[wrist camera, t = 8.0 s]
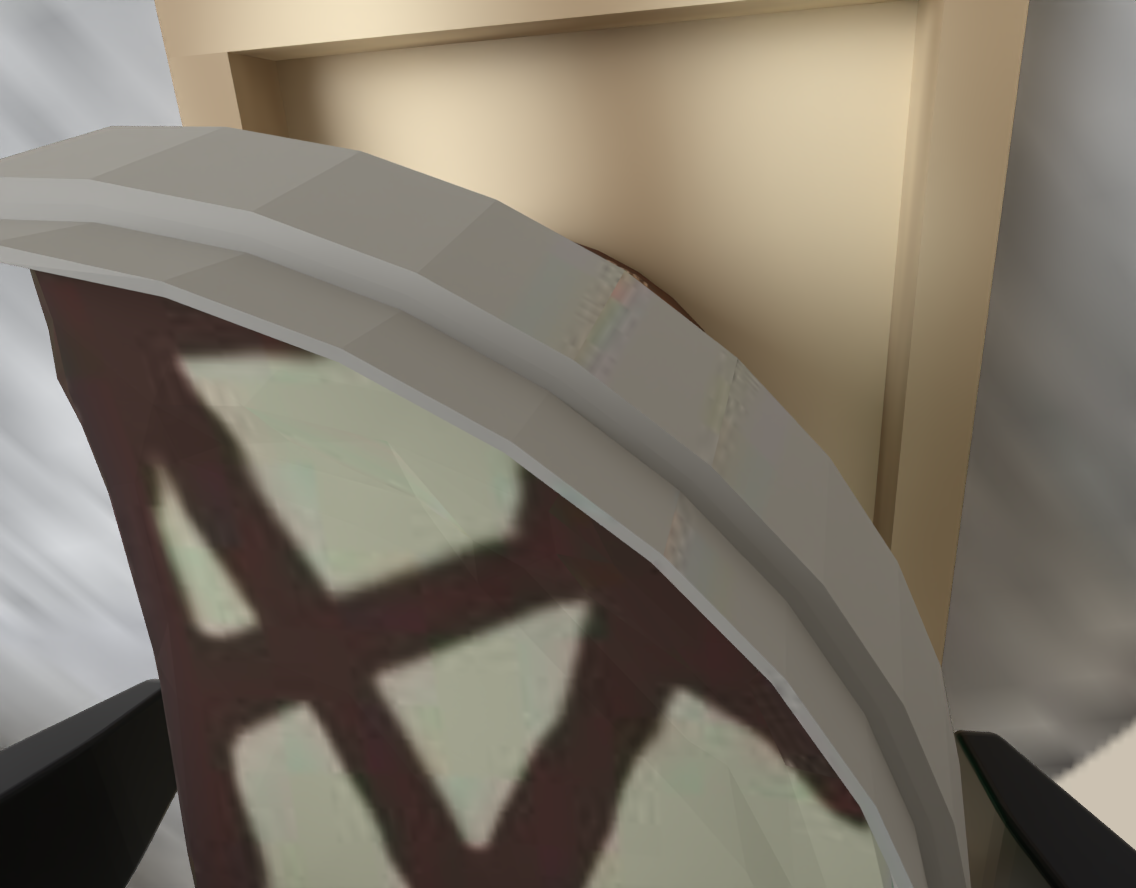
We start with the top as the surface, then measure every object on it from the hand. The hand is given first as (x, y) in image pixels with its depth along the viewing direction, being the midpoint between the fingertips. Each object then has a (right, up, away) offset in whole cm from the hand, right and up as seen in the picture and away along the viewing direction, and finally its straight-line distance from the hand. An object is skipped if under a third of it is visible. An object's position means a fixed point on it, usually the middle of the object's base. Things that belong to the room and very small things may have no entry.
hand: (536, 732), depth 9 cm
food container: (+2, +3, +6) cm, 7 cm away
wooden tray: (+1, +2, +6) cm, 7 cm away
